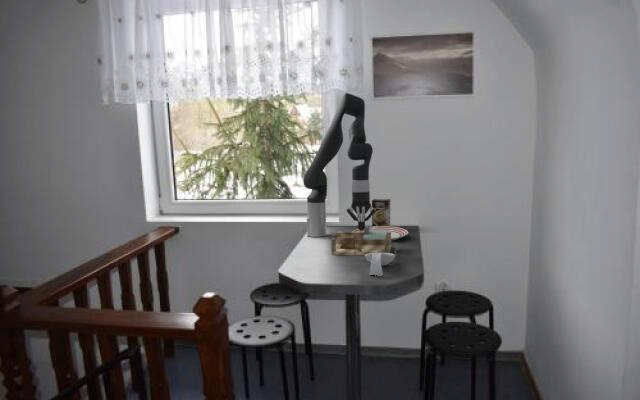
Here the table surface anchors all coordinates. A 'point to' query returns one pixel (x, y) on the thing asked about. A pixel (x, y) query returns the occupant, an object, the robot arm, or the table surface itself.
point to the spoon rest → (378, 262)
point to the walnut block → (348, 242)
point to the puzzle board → (361, 244)
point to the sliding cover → (374, 234)
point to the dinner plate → (395, 231)
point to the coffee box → (381, 212)
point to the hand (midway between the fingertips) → (361, 230)
